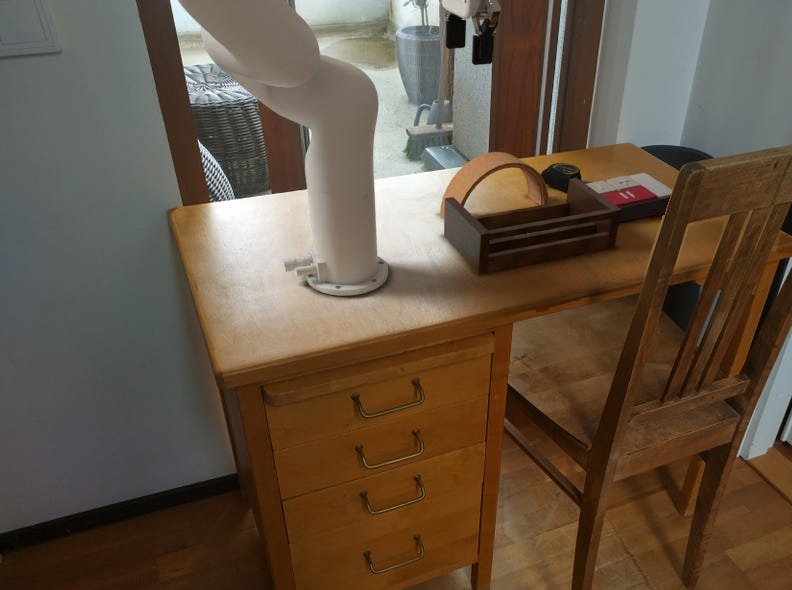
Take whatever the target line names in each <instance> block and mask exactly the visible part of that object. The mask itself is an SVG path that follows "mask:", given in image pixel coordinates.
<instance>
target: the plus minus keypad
mask: <svg viewBox="0 0 792 590" xmlns="http://www.w3.org/2000/svg"><path fill="white" fill-rule="evenodd" d="M585 184H586V185H588V186H589V187H590V188H592V189H593V190H595V191H596V192H597V193H599V194H600V195H602V196H603V197H605V198H606V199H607V200H609V201H610V202H612V203H613V204H614V205H616V206H617V207H619V208H620V209H621V216H620V221H619V224H620V223H623V222H628V221H632V220H637V219H640V218H641V219H642V218H645V217H649V216H655V215H656V216H658V217H663V216H666V215H665V212H666V208H667V205H668V202H669V199H670V196H671V193H672V190H673V189H671V188H669V187H668V186H667V185H665V184H664V183H662V182H660V181H659V180H657V179H656V178H654V177H652V176H651V175H649V174H648V173H646V172H640V173H636V174H631V175H621V176H617V177H612V178H607V179H606V180H598V181H593V182H588V183H585Z"/></svg>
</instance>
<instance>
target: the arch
mask: <svg viewBox="0 0 792 590" xmlns="http://www.w3.org/2000/svg"><path fill="white" fill-rule="evenodd" d="M511 168H513V169H520V170H521V172H522V174H523V176H524V178H525V180H526V186H527V198H529V199H530V200H531V201H532V202H534V203H536V204H537V205H538V206H540V205H546V204H550V202H549V192H548V191H549V190H548V185H547V184H545V181H544V179H543V178H542V176H541V173H540V172H539V171H538V170H537V169H535V167H533V166H531V165H530V164H528V163H526V162H524V161H523V160H521V159H520V158H518V157H517V156H515V155H513V154H511V153H507V152H503V151H492V152H486V153H484V154H480V155H478V156H475V157H474V158H473V159H471V160H469V161H468V162H466V163H465V164H464V165H463V166H462V167H461V168H459V170H458V171H457V172H456V173H455V175H454V176H453V177H452V179H451V180H450V181H449V183H448V185H447V187H446V189H445V191H444V194H443V196H442V199H441V203H440V211H439V215H440V217H442V218H443V219H444V212H445V198H450V197H454V198H455V199H456V200H457V201H458V202H459V203H460V204H461V205H462V206H463V207H464V208H465V205H466V202H467V201H468V198H469V197H470V195H471V194H472V192H473V191H474V190H475V189H476V188H477V186H478V185H479V184H481V182H483V180H485V179H487V178H488V177H489V176H491V175H492V174H494V173H496V172H499V171H501V170H504V169H505V170H506V169H511Z"/></svg>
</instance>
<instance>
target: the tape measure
mask: <svg viewBox="0 0 792 590" xmlns="http://www.w3.org/2000/svg"><path fill="white" fill-rule="evenodd" d="M540 175H541V176H542V178H543V179H544V181H545V184H546V186H550V187H553V188H554V189H557V190H562V191H563V192H568V185H569V179H572V178H578V179H579V180H581V181H582V173H581V169H580V168H579V167H578V166H576V165H574V164H572V163H569V162H557V163H552V164H550V165H549V166H547V168H545V169H543V170H542V171H541V173H540Z"/></svg>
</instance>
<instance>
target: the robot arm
mask: <svg viewBox="0 0 792 590" xmlns="http://www.w3.org/2000/svg"><path fill="white" fill-rule="evenodd" d="M177 2H178V3H179V5H180V6H181V7H182V8H183V10H184V11H185V12H187V14H188V15H189V16H190V17H191V18H192V19H193V20H194V21H195V22H196V23H197V24H198V25H199V26H200V34H201V39H202V43H203V46H204V49H205V51H206V52H207V54H208V56H209V57H210V59H211V60H212V61H213V63H214V64H215V65H216V66H217V67H218V68H219V69H220V70H221V71H222V72H224V73H225V74H226V76H228V77H229V78H231V79H232V80H233V81H235V82H236V83H237V84H238V85H240V87H242V88H243V89H245V91H247V92H248V93H249V94H251V95H252V96H253V97H254V98H255V99H257V100H258V101H259V102H261V103H262V104H263V105H265V107H267V108H268V109H270V110H271V111H273V112H274V113H276V114H277V115H278V116H281V117H283V118H285V119H287V120H289V121H291V122H294V123H296V124H299V125H301V126H304V127H305V128H307V129H309V130H310V133H311V135H310V141H309V145H308V148H307V151H306V154H305V158H304V174H305V181H306V192H307V200H308V210H309V220H310V230H311V240H312V245H309V246H307V250H308V253H303V254H302V256H299V257H290V258H283V259H282V260H281V263H282V267H283V271H284V273H289V272H294V274H295V276H296V278H299V277H300V278H301V277H305V280H306V282H307V284H308V285H309V286H310V287H311V288H312V289H314V290H316V291H318V292H321V293H323V294H326V295H331V296H339V297H340V296H343V297H344V296H345V297H348V296H358V295H363V294H366V293H370V292H371V291H374V290H377V289H378V288H379V287H381V286H383V284H384V283H385V282H386V281H387V279H388V277H389V266H388V264H387V262H386V261H385V260H384V259H383V258H382V257H380V256H379V255H378V237H377V216H376V215H377V213H376V192H375V170H374V169H375V168H374V166H375V165H374V147H375V146H374V145H375V134H376V129H377V122H378V115H379V105H380V104H379V94H378V91H377V88H376V86H375V83H374V82H373V81H372V79H371V77H369V75H368V74H367V73H365V71H363V70H362V69H361V68H359V67H358V66H355V65H354V64H352V63H350V62H347V61H344V60H341V59H337V58H335V57H331V56H329V55H324V54H321V52H320V51H321V50H320V46H319V42H318V39H317V37H316V35H315V33H314V31H313V30H312V28H311V27H310V25H309V24H308V23H307V21H306V20H305V19H304V18H303V17H302V16H301V15H300V14H299V13H298V12H297V11H296V10H295V9H293V7H292V6H291V5H289V3H287V1H286V0H177ZM441 5H442V7H443V8H444V10H445V13H444V14H445V15H444V18H445V48H446V49H448V50H453V49H464V48H466V41H467V20H470V18H471V21H472V25H473V29H474V33H475V34H473V35H472V46H471V64H472V65H474V66H483V65H491V64H493V61H494V47H495V45H494V44H495V36H496V34H497V27H498V25H499V17H500V14H501V10H502V7H501V5H500V3H499V1H498V0H441ZM481 21H482V22H481Z"/></svg>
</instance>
